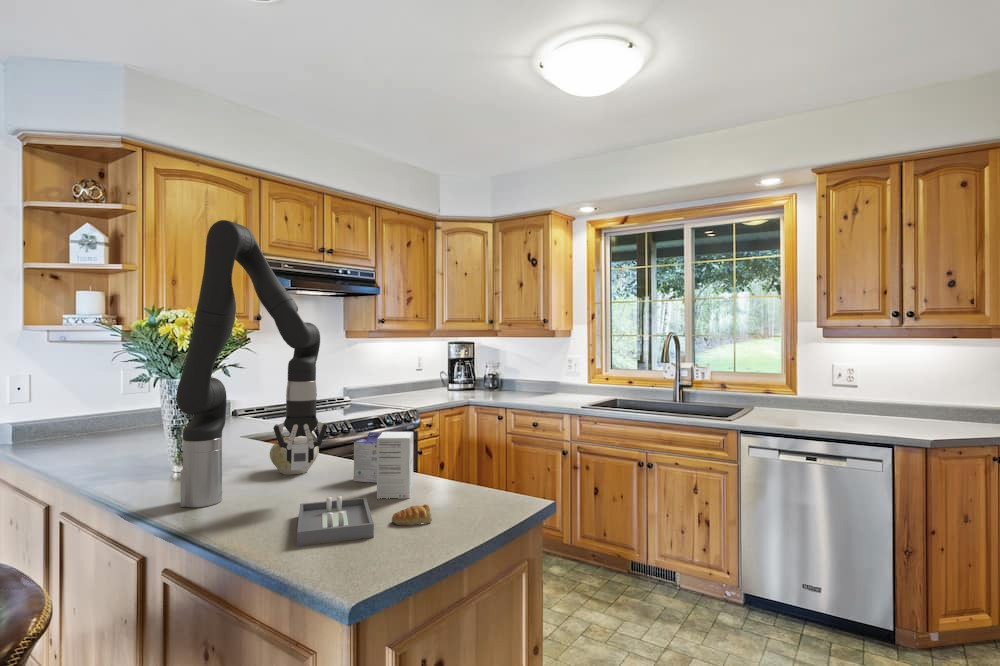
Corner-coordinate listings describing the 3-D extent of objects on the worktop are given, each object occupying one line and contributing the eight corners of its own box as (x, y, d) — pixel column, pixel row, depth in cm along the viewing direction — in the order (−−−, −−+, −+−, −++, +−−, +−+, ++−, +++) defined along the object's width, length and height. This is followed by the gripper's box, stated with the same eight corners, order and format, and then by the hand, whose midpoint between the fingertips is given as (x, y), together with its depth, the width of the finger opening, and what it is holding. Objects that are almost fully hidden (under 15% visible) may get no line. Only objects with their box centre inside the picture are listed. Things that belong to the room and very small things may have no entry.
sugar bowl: (331, 472, 175) (331, 426, 175) (287, 482, 164) (287, 432, 164) (300, 462, 188) (300, 419, 188) (257, 471, 177) (258, 425, 177)
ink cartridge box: (390, 478, 168) (390, 432, 168) (383, 483, 163) (383, 435, 163) (361, 477, 170) (361, 431, 170) (353, 481, 165) (353, 434, 165)
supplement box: (381, 489, 157) (381, 431, 157) (413, 488, 158) (413, 431, 158) (376, 499, 148) (376, 437, 148) (410, 498, 148) (410, 437, 148)
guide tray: (297, 546, 116) (297, 522, 116) (300, 515, 135) (300, 495, 134) (373, 537, 121) (373, 514, 121) (366, 509, 140) (366, 489, 140)
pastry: (394, 529, 126) (394, 513, 126) (389, 520, 132) (389, 504, 132) (433, 524, 130) (433, 508, 130) (426, 515, 136) (426, 500, 136)
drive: (291, 470, 138) (291, 445, 138) (292, 461, 147) (293, 437, 147) (307, 469, 139) (308, 444, 139) (308, 461, 148) (308, 437, 148)
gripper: (271, 400, 137) (270, 467, 137) (329, 399, 142) (328, 464, 142) (273, 396, 144) (272, 460, 144) (329, 395, 149) (328, 457, 149)
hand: (300, 462), depth 143 cm, fingers closed on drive, 4 cm apart
